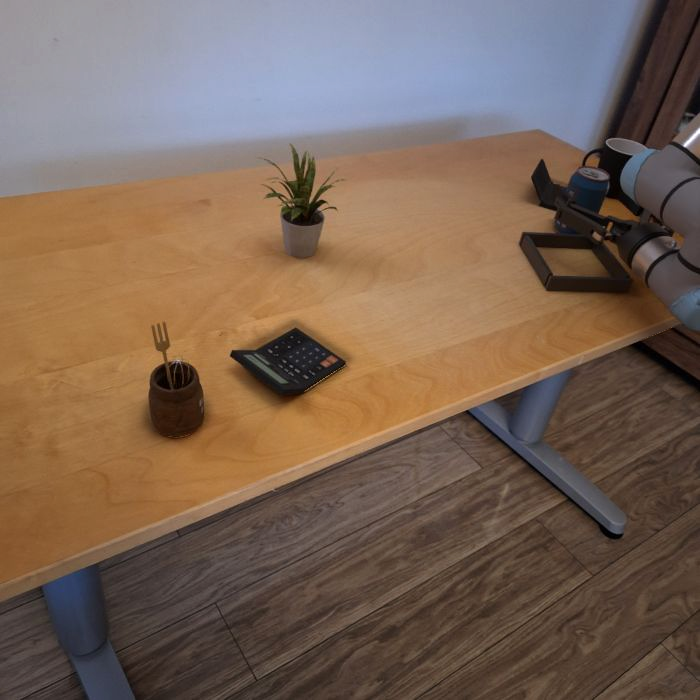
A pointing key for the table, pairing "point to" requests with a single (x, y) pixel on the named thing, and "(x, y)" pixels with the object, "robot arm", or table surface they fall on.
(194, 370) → the utensil holder
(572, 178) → the soda can
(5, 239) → the table surface
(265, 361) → the calculator
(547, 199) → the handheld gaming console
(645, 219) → the robot arm
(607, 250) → the dark brown square frame
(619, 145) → the mug
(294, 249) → the house plant
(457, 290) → the table surface
